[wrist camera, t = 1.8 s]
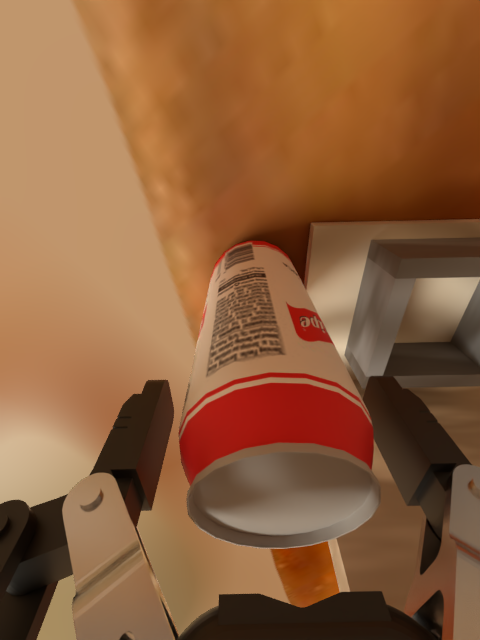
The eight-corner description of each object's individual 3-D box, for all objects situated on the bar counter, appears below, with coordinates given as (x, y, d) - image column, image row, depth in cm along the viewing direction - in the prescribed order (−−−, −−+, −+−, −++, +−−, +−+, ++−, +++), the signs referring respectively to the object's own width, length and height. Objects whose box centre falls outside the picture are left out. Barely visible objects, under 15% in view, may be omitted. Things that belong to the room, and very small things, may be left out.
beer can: (277, 221, 19) (385, 398, 5) (303, 295, 22) (418, 533, 8) (197, 257, 20) (111, 478, 6) (233, 323, 23) (227, 568, 9)
